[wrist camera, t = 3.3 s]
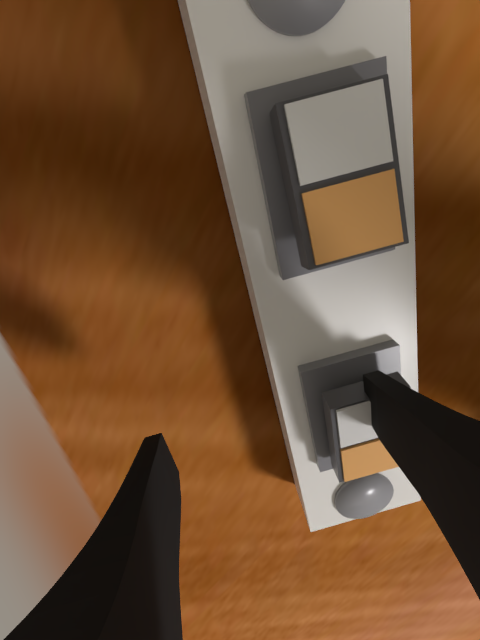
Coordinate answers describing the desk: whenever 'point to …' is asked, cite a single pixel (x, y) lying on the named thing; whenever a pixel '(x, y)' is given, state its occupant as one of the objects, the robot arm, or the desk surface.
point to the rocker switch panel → (277, 229)
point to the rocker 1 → (341, 171)
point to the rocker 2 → (354, 433)
